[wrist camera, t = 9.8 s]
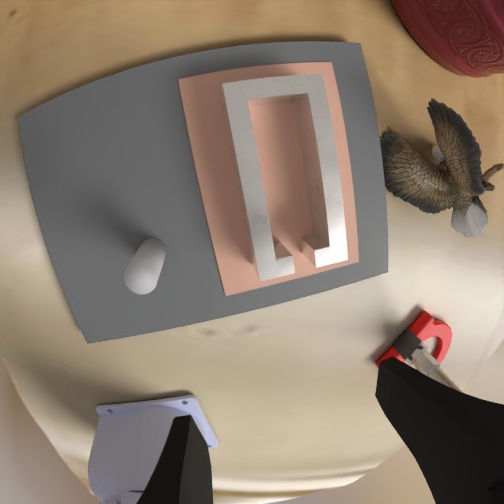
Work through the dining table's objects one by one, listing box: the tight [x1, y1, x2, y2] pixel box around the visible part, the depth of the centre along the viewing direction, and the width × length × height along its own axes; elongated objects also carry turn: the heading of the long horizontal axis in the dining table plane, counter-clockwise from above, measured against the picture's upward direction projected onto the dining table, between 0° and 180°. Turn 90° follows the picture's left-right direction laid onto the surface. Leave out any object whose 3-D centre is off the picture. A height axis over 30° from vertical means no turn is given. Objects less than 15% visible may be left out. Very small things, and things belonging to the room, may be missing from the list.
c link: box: [219, 74, 348, 282], centre depth 15 cm, size 5×10×2 cm, turn 10°
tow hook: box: [376, 311, 463, 393], centre depth 19 cm, size 8×13×9 cm
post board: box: [18, 41, 388, 344], centre depth 15 cm, size 22×16×5 cm
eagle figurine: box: [380, 99, 504, 238], centre depth 16 cm, size 8×7×9 cm
